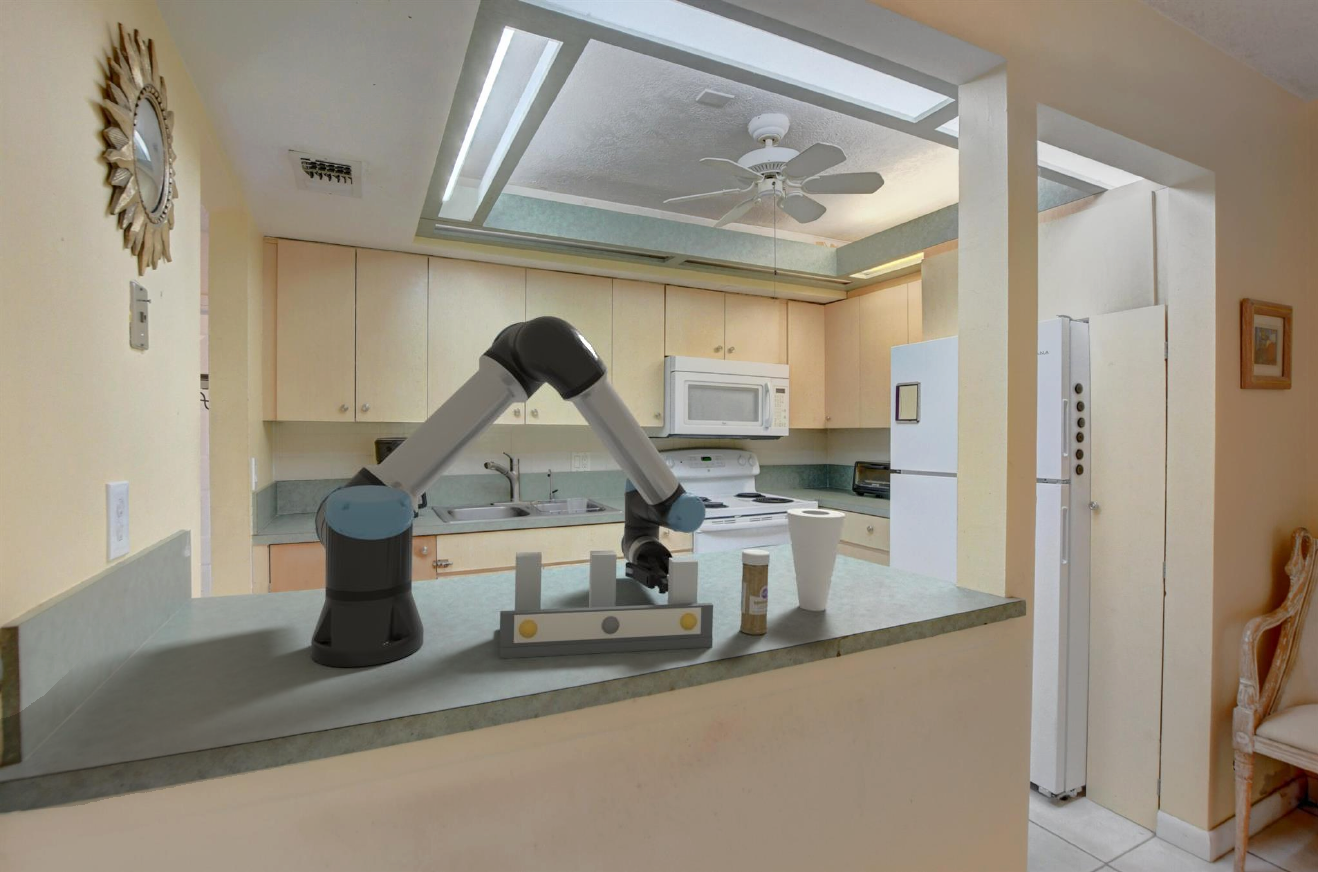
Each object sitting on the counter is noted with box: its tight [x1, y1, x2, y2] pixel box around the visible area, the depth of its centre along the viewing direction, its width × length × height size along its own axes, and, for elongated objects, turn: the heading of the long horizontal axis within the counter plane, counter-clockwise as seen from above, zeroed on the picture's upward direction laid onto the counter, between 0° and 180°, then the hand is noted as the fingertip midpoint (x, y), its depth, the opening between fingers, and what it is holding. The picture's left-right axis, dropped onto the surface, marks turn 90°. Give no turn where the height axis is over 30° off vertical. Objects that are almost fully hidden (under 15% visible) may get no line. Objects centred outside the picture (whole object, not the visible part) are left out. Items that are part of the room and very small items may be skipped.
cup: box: [786, 507, 846, 612], centre depth 119 cm, size 11×11×18 cm
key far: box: [667, 556, 699, 604], centre depth 100 cm, size 4×3×11 cm
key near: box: [514, 551, 543, 610], centre depth 101 cm, size 4×3×11 cm
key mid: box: [588, 550, 618, 608], centre depth 104 cm, size 4×3×11 cm
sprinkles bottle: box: [739, 548, 771, 636], centre depth 105 cm, size 5×5×14 cm
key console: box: [498, 602, 714, 660], centre depth 100 cm, size 32×13×6 cm, turn 102°
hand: (680, 593), depth 102 cm, fingers closed
